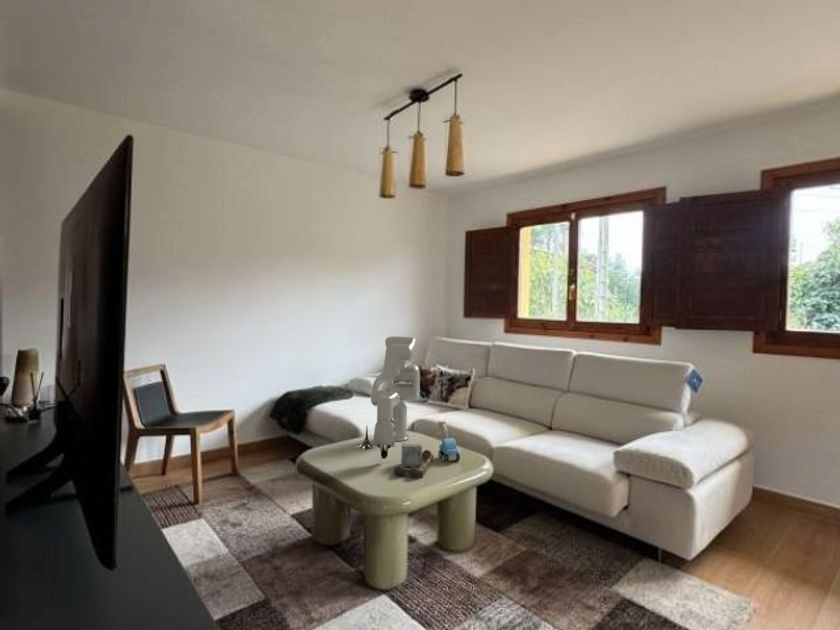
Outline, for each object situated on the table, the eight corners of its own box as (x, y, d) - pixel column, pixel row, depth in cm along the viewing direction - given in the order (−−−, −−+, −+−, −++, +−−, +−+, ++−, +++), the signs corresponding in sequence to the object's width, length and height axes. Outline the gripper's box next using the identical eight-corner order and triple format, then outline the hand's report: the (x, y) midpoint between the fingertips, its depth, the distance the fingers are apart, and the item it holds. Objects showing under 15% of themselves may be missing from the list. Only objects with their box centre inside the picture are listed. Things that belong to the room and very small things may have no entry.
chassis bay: (407, 456, 232) (408, 447, 232) (434, 459, 229) (434, 450, 228) (392, 475, 207) (392, 466, 207) (421, 479, 204) (421, 469, 203)
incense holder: (421, 462, 224) (421, 441, 224) (422, 468, 216) (422, 447, 215) (401, 462, 224) (401, 441, 223) (401, 468, 215) (401, 447, 215)
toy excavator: (448, 451, 241) (449, 419, 240) (461, 462, 225) (461, 428, 224) (433, 452, 238) (434, 420, 238) (444, 464, 222) (445, 429, 222)
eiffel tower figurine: (381, 445, 249) (382, 421, 249) (380, 452, 239) (380, 426, 239) (354, 445, 249) (354, 421, 248) (351, 451, 239) (352, 426, 238)
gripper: (401, 419, 223) (401, 456, 224) (372, 417, 226) (372, 453, 227) (397, 424, 215) (396, 462, 216) (367, 421, 219) (367, 458, 220)
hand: (384, 457), depth 222 cm, fingers closed
